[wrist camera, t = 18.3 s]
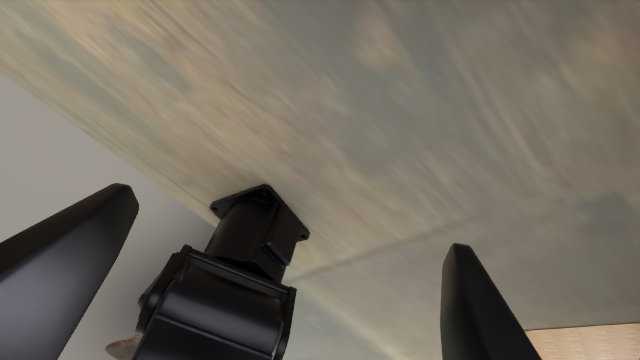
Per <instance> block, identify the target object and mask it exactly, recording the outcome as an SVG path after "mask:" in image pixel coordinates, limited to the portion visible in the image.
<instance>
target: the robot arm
mask: <svg viewBox="0 0 640 360" xmlns="http://www.w3.org/2000/svg"><path fill="white" fill-rule="evenodd" d="M265 190H266V191H265ZM210 210H211V211H212V212H213V213H214V214H215V215H216V216H217V217H218V218H219V219H220V220H221V221H220V222H219V224H218V226H217V228H216V230H215V233H214V234H213V236H212V238H211V240H210V242H209V243H208V245H207V247H206V249H205V251H204V253H203V252H200V251H198V250H195V249H193V248H192V247H191V246H189V245H186V244H185V245H184V246H183V248H182V249H181V251H180V252H177V253H173V254H172V255H171V257H170V259H169V261H168V262H167V264H166V265H165V267H164V269H163V270H162V272H161V273H160V274H159V276H158V277H157V278H156V279H155V280H154V281H153V282H152V284H151V285H150V286H149V287H148V288H147V289H146V290H145V292H144V293H143V294H142V295H141V297H140V298H139V300H138V307H139V310H140V315H139V318H138V320H139V321H138V324H137V326H136V330H135V333H136V334H139V335H142V336H143V337H142V339H141V341H140V343H139V345H138V347H137V349H136V351H135V354H134V356H133V358H132V360H282V359H283V356H284V353H285V350H286V347H287V343H288V339H289V335H290V329H291V323H292V316H293V310H294V303H295V297H296V291H297V289H296V288H294V287H291V286H290V287H288V286H285V285H283V284H281V282H282V278H283V275H284V272H285V269H286V266H289V265H290V262H291V259H292V256H293V252H294V249H295V246H296V242H299V241H303V240H307V239H308V238H309V235H310V232H309V231H308V230H307V228H306V227H305V226H304V225H303V224H302V223H301V221H300V220H299V219H298V218H297V217H296V216H295V214H294V213H293V212H292V211H291V210H290V209H289V207H288V206H287V205H286V204H285V203H284V201H283V200H282V199H281V198H280V197H279V196H278V194H277V193H276V192H275V191H274V190H273V189H272V187H270V186H269V185H266V184H263V185H260V186H257V187H254V188H251V189H249V190H246V191H243V192H240V193H237V194H234V195H231V196H229V197H226V198H223V199H220V200H217V201H214V202H212V204H211V205H210ZM138 211H139V204H138V201H137V199H136V197H135V195H134V192H133V190H132V188H131V187H130V186H129V185H125V184H119V183H114V184H111V185H109V186H108V187H106V188H104V189H102V190H100V191H98V192H96V193H94V194H92V195H90V196H88V197H87V198H85V199H83V200H81V201H79V202H77V203H75V204H74V205H71V206H69V207H68V208H66V209H64V210H62V211H60V212H58V213H56V214H54V215H52V216H50V217H49V218H47V219H45V220H43V221H41V222H39V223H37V224H35V225H33V226H31V227H29V228H28V229H26V230H24V231H22V232H20V233H18V234H16V235H14V236H12V237H10V238H9V239H7V240H5V241H3V242H1V243H0V360H57V359H58V357H59V356H60V354H61V352H62V351H63V349H64V347H65V346H66V344H67V342H68V340H69V339H70V337H71V335H72V334H73V332H74V330H75V329H76V327H77V325H78V323H79V322H80V320H81V318H82V317H83V315H84V313H85V312H86V310H87V308H88V307H89V305H90V303H91V302H92V300H93V298H94V297H95V294H96V293H97V291H98V289H99V288H100V286H101V285H102V283H103V281H104V280H105V278H106V276H107V275H108V273H109V271H110V269H111V268H112V266H113V264H114V263H115V261H116V259H117V257H118V255H119V253H120V251H121V249H122V246H123V244H124V242H125V240H126V238H127V236H128V234H129V231H130V229H131V227H132V225H133V223H134V220H135V218H136V216H137V214H138ZM440 330H441V344H442V357H443V360H542V359H541V357H540V355H539V354H538V352H537V351H536V349H535V347H534V346H533V344H532V343H531V341H530V340H529V338H528V336H527V335H526V333H525V332H524V330H523V329H522V327H521V325H520V324H519V322H518V321H517V319H516V317H515V316H514V314H513V313H512V311H511V310H510V308H509V306H508V305H507V303H506V302H505V300H504V299H503V297H502V295H501V294H500V292H499V291H498V289H497V287H496V286H495V284H494V283H493V281H492V280H491V278H490V276H489V275H488V273H487V272H486V270H485V269H484V267H483V265H482V264H481V262H480V261H479V259H478V257H477V256H476V254H475V253H474V251H473V250H472V248H471V247H470V246H468V245H464V244H458V243H454V244H452V246H451V247H450V249H449V252H448V254H447V256H446V258H445V260H444V263H443V269H442V290H441V313H440Z"/></svg>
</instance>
